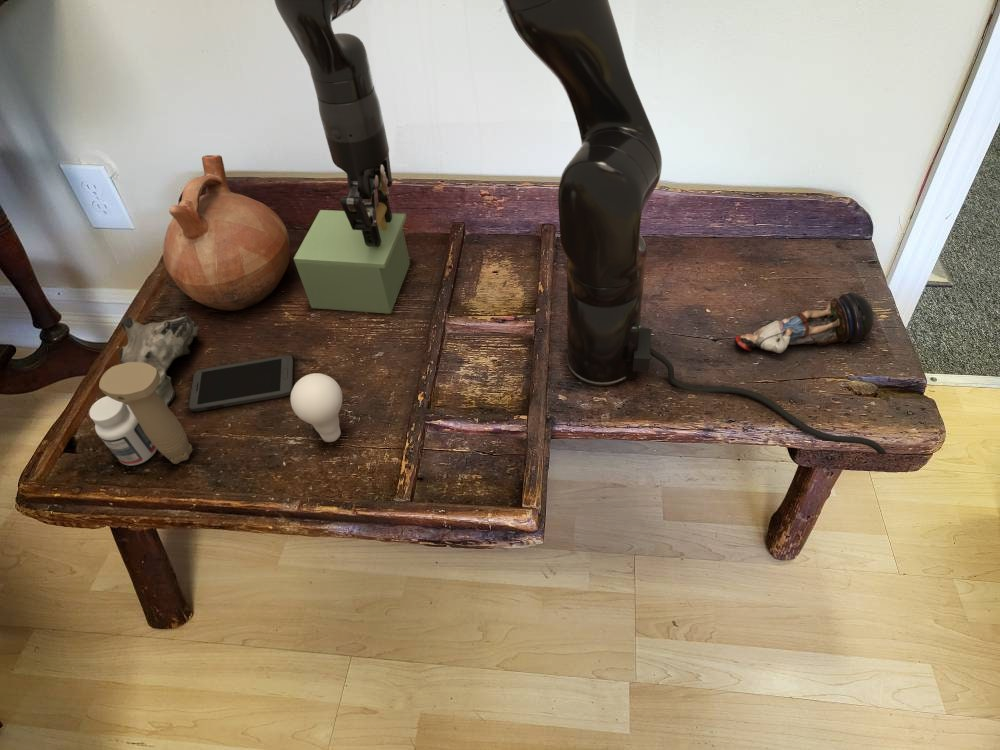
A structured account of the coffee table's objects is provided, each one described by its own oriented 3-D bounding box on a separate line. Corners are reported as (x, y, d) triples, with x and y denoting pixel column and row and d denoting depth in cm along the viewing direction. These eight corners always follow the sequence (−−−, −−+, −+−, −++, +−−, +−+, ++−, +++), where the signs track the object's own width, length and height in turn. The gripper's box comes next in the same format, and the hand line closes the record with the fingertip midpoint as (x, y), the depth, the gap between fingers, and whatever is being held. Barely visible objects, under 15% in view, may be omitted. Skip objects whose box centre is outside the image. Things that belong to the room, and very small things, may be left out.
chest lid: (406, 218, 109) (400, 189, 106) (385, 268, 102) (378, 239, 98) (321, 213, 112) (312, 185, 108) (294, 263, 104) (284, 234, 100)
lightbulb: (358, 417, 96) (338, 361, 88) (353, 455, 92) (332, 400, 84) (312, 420, 96) (288, 364, 88) (305, 459, 92) (280, 403, 84)
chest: (410, 263, 116) (400, 218, 110) (390, 313, 109) (379, 268, 102) (335, 259, 118) (321, 214, 112) (311, 308, 111) (294, 263, 104)
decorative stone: (185, 407, 98) (137, 357, 91) (129, 419, 100) (78, 370, 94) (221, 327, 109) (180, 276, 102) (170, 339, 111) (127, 290, 105)
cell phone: (293, 395, 99) (291, 392, 99) (189, 413, 98) (187, 409, 98) (294, 356, 104) (292, 353, 103) (195, 373, 103) (193, 370, 103)
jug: (276, 330, 108) (229, 219, 93) (165, 323, 111) (102, 215, 96) (316, 251, 120) (280, 141, 105) (214, 246, 123) (165, 139, 108)
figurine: (886, 307, 91) (738, 327, 94) (881, 352, 95) (738, 369, 98) (864, 280, 98) (726, 299, 100) (860, 323, 101) (727, 340, 104)
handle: (196, 471, 92) (144, 395, 81) (149, 468, 93) (91, 392, 82) (211, 441, 95) (163, 363, 84) (165, 438, 96) (112, 360, 85)
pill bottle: (145, 427, 97) (114, 384, 91) (167, 446, 95) (137, 403, 88) (110, 453, 95) (75, 410, 88) (131, 473, 93) (97, 431, 86)
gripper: (365, 156, 87) (391, 266, 100) (396, 96, 96) (417, 204, 109) (306, 154, 88) (339, 263, 101) (343, 95, 98) (369, 202, 110)
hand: (379, 232), depth 105 cm, fingers closed on chest lid, 5 cm apart
